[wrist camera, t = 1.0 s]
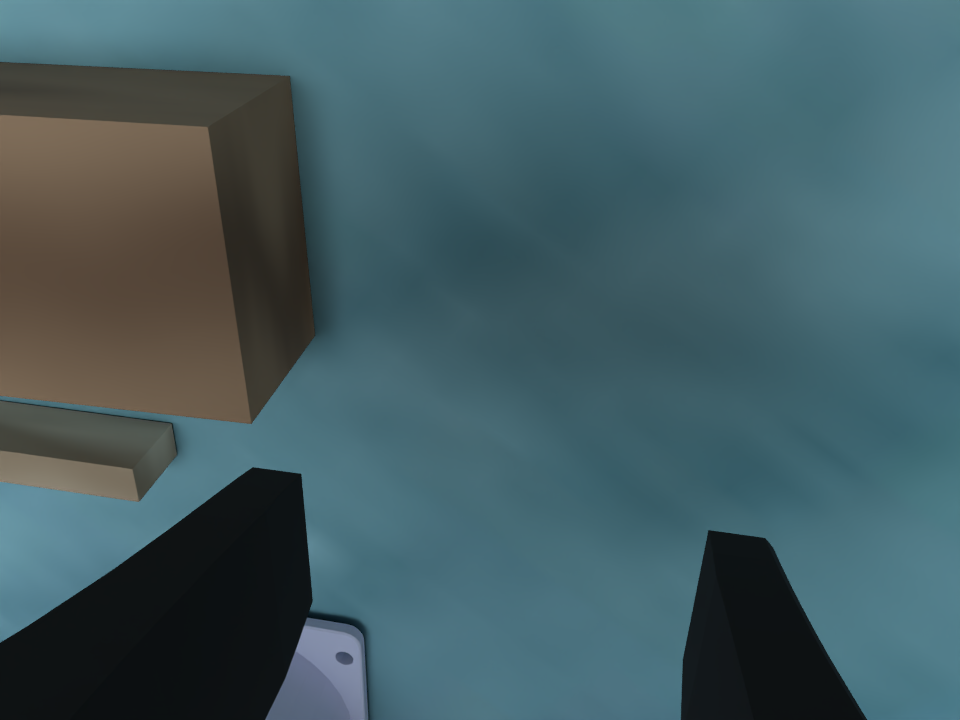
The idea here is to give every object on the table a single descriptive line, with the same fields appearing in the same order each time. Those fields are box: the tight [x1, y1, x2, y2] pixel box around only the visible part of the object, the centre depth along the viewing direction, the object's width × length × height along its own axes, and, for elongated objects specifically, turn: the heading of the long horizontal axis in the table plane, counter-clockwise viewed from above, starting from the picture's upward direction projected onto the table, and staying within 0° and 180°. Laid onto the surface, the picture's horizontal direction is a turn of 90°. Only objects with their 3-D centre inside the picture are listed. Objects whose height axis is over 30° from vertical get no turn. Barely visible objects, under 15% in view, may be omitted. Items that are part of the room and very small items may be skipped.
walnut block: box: [0, 62, 315, 424], centre depth 19 cm, size 6×7×4 cm
